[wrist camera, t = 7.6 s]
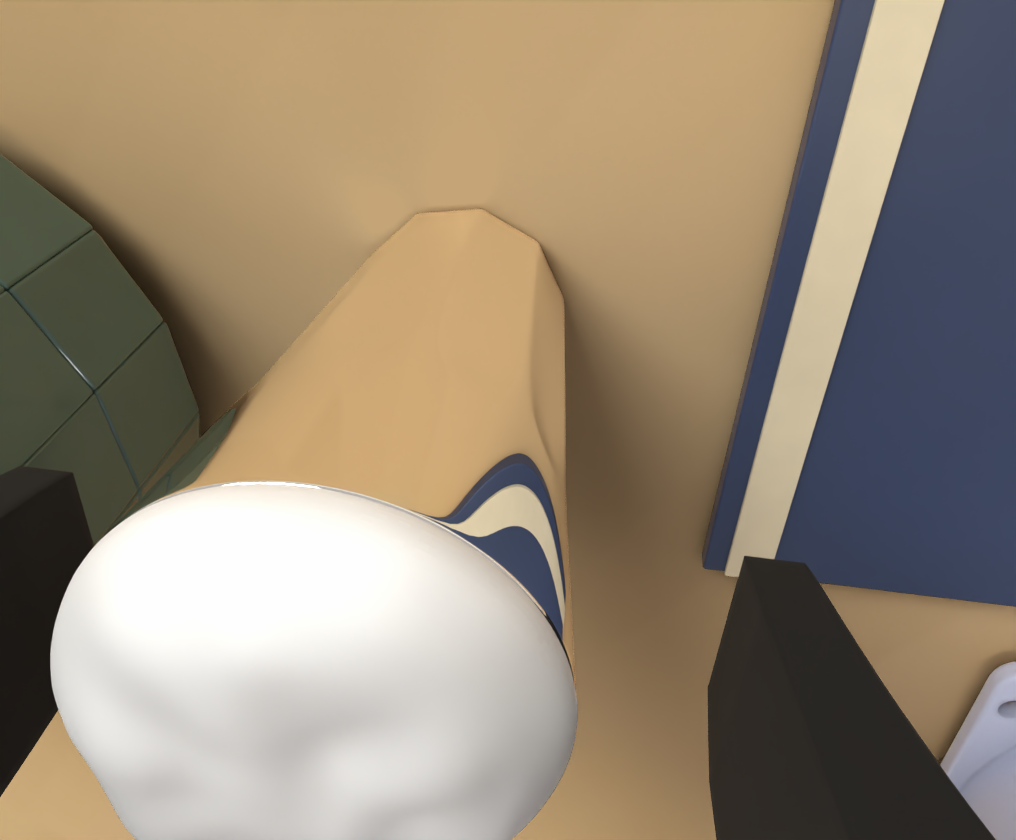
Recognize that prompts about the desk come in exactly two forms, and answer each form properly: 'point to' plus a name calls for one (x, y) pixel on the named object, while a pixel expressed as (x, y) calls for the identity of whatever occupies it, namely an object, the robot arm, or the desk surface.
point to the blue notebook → (890, 319)
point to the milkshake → (350, 574)
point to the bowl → (83, 359)
